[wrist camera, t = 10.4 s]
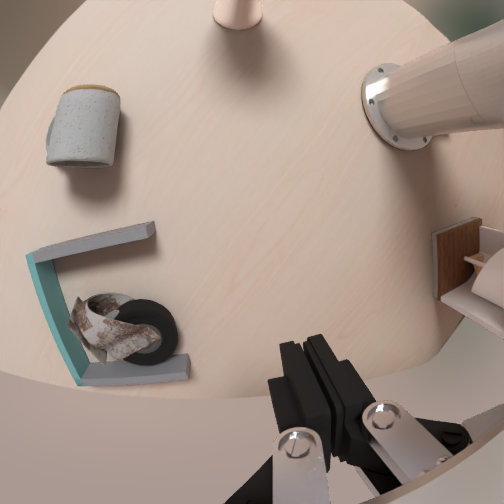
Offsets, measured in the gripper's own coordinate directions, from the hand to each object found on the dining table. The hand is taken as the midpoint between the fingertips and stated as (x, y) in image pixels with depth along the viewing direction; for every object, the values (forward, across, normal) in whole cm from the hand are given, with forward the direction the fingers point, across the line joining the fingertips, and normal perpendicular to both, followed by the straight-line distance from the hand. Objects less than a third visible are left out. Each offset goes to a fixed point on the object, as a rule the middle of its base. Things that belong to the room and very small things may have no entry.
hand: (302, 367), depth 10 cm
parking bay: (+22, +18, +4) cm, 29 cm away
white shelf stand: (+23, -33, +9) cm, 41 cm away
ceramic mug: (+22, +16, -16) cm, 32 cm away
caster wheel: (+22, +16, +6) cm, 28 cm away
